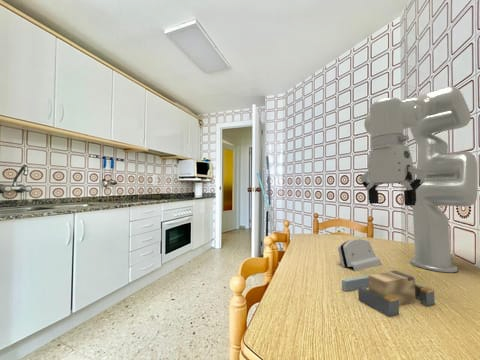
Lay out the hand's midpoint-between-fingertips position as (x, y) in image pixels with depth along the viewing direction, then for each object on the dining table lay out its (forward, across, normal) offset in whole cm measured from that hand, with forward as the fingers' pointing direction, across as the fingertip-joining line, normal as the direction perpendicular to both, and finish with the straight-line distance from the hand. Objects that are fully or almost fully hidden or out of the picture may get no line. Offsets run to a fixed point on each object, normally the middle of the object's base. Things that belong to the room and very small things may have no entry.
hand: (390, 204), depth 58 cm
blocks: (+22, -5, +8) cm, 24 cm away
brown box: (+22, -5, +8) cm, 25 cm away
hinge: (+24, +18, -8) cm, 31 cm away
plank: (+22, +3, +8) cm, 24 cm away
